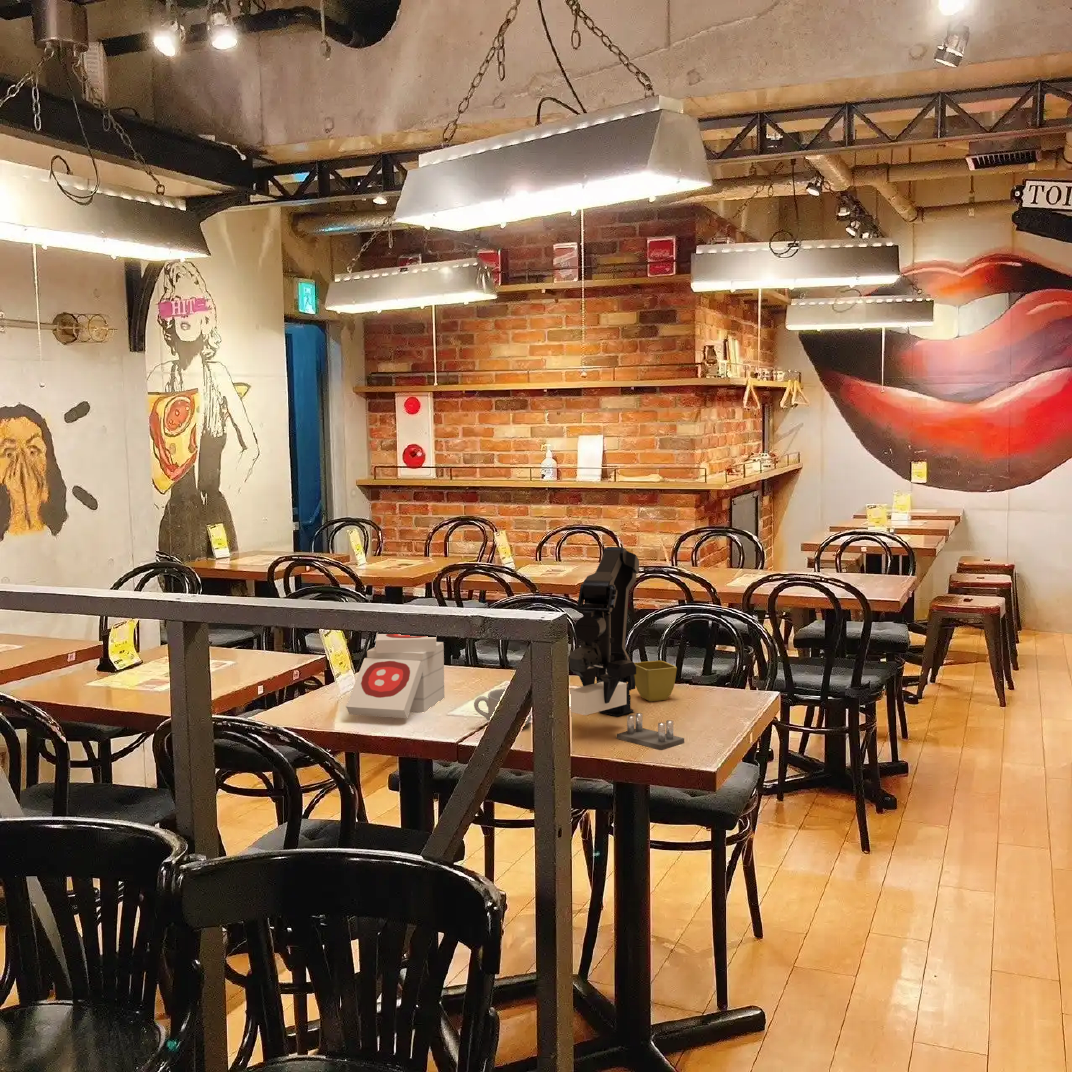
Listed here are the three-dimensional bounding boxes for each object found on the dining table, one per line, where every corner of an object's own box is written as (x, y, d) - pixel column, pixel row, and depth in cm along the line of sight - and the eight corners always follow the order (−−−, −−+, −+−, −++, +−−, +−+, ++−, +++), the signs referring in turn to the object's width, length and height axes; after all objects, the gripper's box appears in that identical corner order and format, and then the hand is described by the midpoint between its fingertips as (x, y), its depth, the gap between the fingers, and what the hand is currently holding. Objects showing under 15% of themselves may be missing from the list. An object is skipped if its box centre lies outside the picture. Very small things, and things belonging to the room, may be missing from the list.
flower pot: (677, 701, 288) (677, 666, 287) (647, 704, 285) (647, 669, 284) (661, 693, 296) (661, 660, 295) (631, 697, 293) (631, 662, 292)
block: (585, 715, 252) (584, 693, 252) (569, 711, 256) (568, 689, 255) (626, 704, 262) (626, 683, 261) (610, 700, 266) (610, 679, 265)
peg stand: (616, 738, 254) (616, 716, 254) (639, 731, 260) (639, 710, 259) (661, 750, 245) (661, 727, 244) (684, 742, 250) (684, 720, 250)
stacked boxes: (339, 722, 270) (337, 647, 269) (387, 693, 299) (386, 625, 297) (413, 727, 265) (412, 651, 264) (455, 697, 294) (454, 628, 292)
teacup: (533, 720, 271) (532, 687, 270) (534, 732, 260) (534, 698, 259) (474, 721, 270) (474, 688, 269) (473, 733, 259) (473, 699, 258)
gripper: (544, 633, 258) (544, 700, 260) (604, 644, 245) (604, 714, 247) (577, 627, 266) (578, 692, 268) (637, 637, 253) (637, 705, 254)
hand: (598, 701), depth 259 cm, fingers closed on block, 5 cm apart
